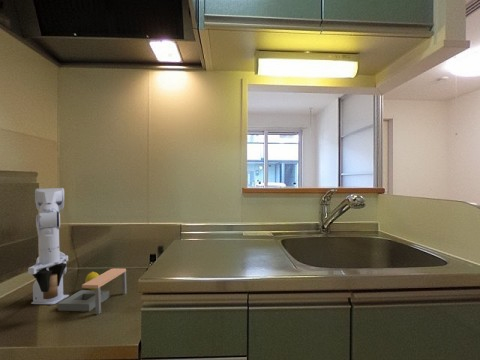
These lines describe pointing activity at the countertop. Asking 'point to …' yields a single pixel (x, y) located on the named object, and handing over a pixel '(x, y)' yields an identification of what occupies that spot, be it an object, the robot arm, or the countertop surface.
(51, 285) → the peg
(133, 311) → the countertop surface
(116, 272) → the orange bridge
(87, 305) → the socket
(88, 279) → the lemon
